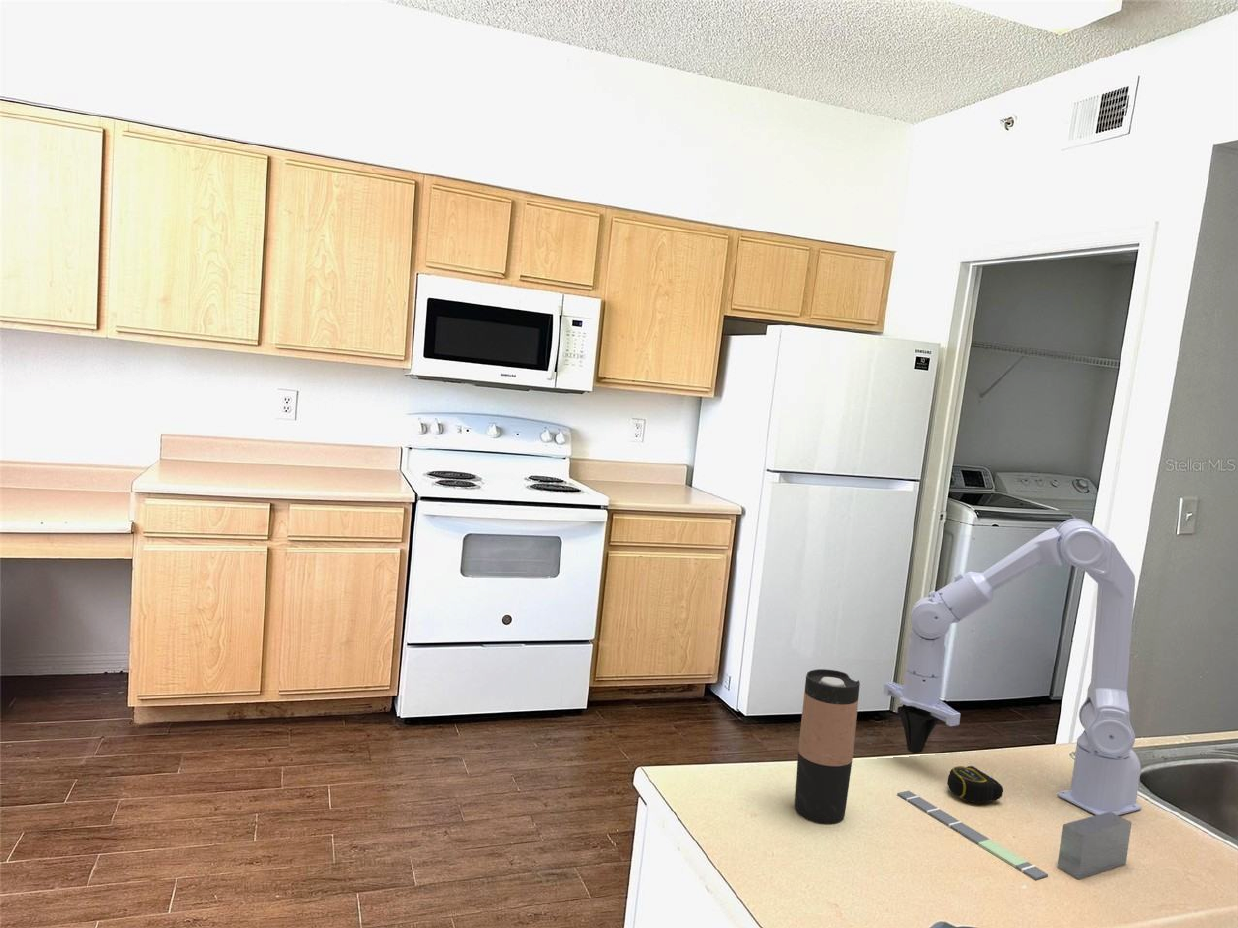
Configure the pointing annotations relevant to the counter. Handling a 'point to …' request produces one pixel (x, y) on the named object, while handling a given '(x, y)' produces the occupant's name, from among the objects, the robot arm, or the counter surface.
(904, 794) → the scale strip
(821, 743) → the travel mug
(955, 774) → the tape measure
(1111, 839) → the charcoal grey brick
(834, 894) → the counter surface
